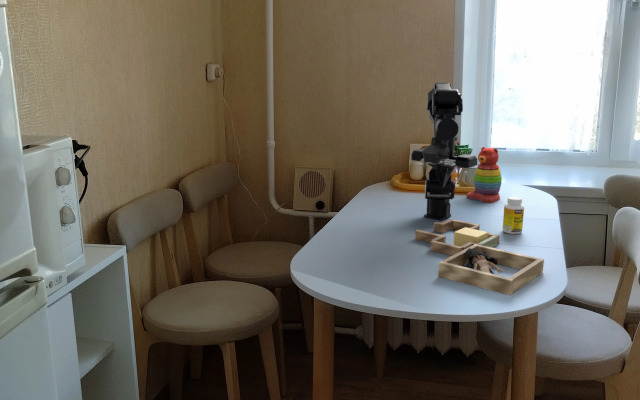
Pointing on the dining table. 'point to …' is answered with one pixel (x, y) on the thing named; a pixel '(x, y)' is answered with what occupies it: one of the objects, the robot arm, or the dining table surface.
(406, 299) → the dining table surface
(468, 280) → the fence
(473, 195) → the stacking bear
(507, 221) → the supplement bottle
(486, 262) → the toy figure
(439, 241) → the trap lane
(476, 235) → the block
